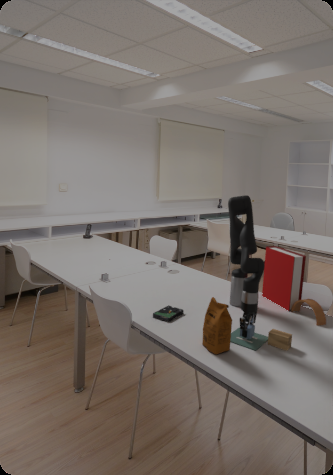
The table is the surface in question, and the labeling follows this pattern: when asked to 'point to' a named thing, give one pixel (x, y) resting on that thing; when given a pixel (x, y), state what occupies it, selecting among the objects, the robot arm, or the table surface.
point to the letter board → (248, 340)
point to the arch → (316, 308)
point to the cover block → (279, 339)
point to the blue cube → (249, 331)
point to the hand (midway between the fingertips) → (247, 334)
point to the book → (283, 276)
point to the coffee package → (217, 327)
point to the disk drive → (168, 313)
